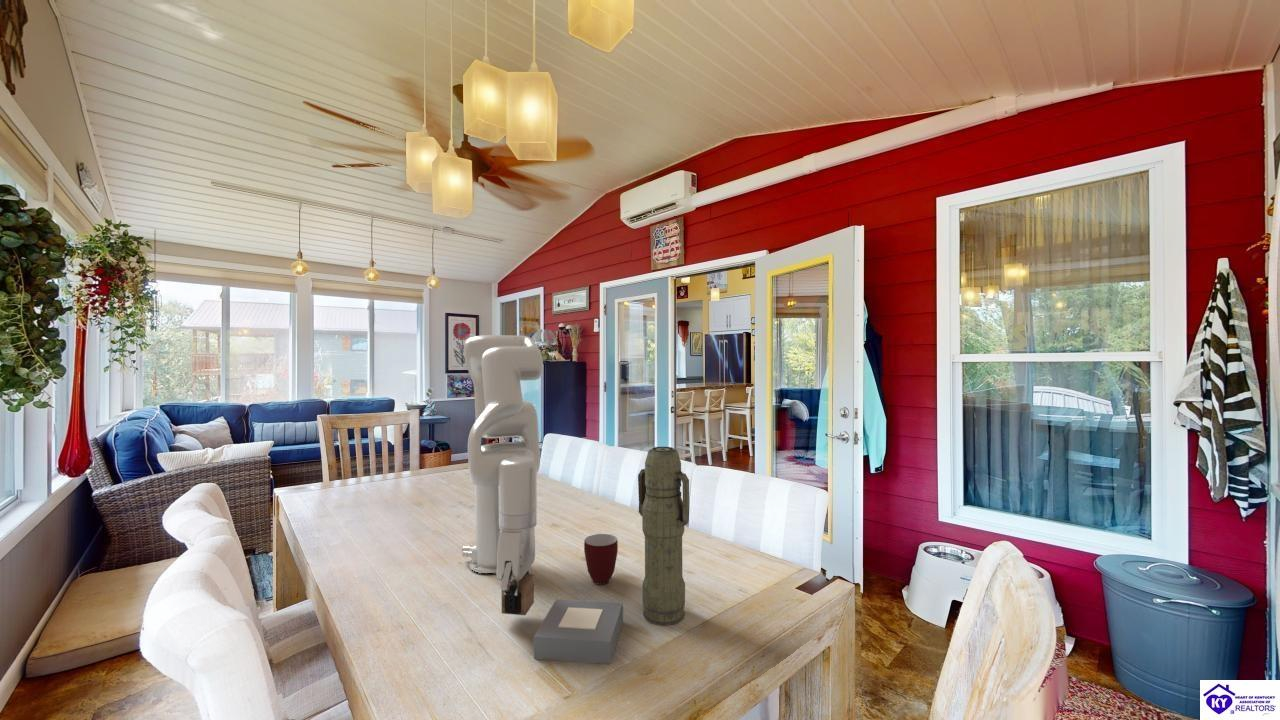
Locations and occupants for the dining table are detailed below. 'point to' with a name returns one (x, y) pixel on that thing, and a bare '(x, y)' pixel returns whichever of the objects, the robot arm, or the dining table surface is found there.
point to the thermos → (663, 534)
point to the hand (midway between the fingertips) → (518, 604)
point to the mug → (601, 556)
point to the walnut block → (523, 594)
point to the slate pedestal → (579, 631)
